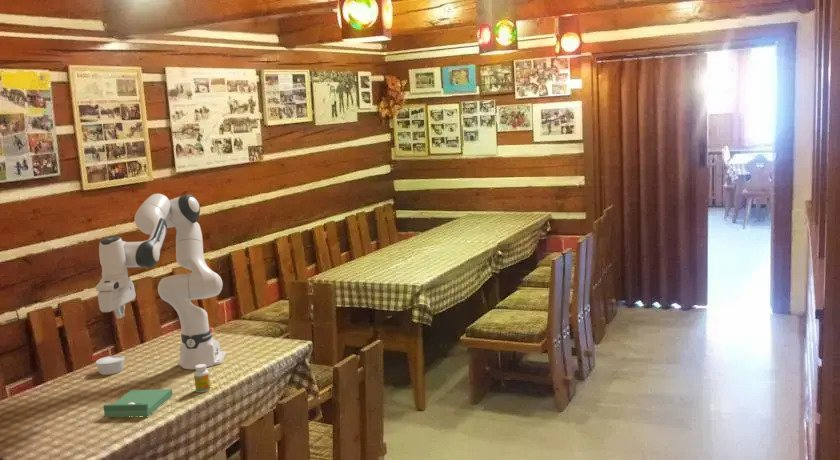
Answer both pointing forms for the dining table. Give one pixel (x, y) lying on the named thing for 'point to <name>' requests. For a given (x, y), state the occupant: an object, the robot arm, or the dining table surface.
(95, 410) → the dining table surface
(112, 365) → the ramekin
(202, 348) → the robot arm
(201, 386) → the supplement bottle
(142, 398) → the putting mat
